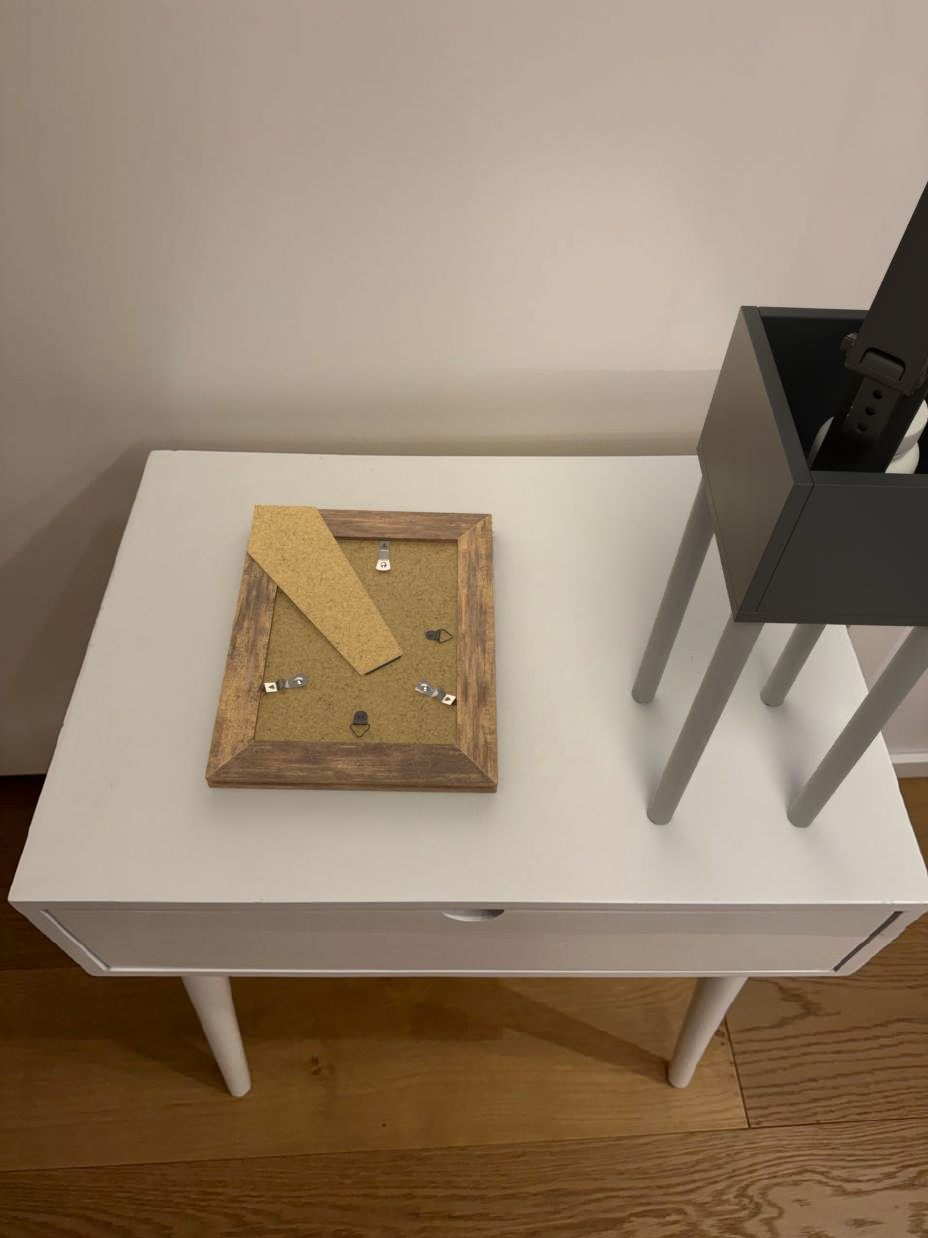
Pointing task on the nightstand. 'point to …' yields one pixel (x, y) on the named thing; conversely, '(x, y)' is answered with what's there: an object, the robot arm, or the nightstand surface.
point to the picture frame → (361, 655)
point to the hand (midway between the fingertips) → (874, 442)
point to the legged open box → (792, 542)
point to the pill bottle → (903, 457)
